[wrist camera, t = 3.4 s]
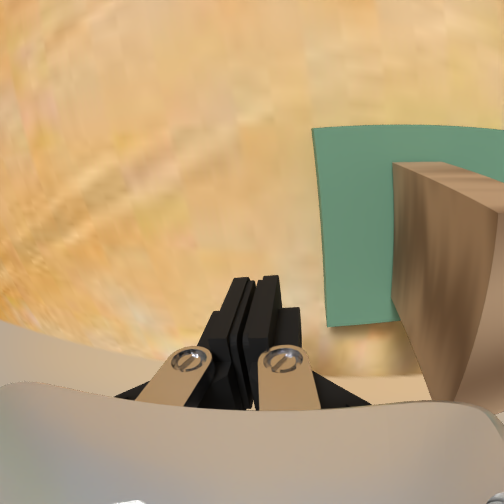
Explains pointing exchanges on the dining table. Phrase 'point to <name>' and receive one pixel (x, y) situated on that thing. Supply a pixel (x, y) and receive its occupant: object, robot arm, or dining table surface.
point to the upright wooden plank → (451, 278)
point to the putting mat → (379, 204)
